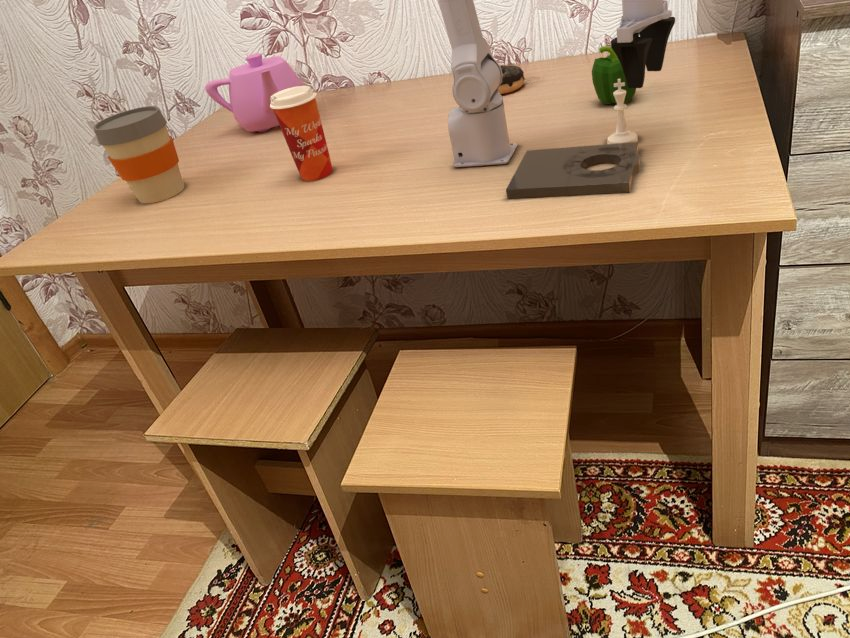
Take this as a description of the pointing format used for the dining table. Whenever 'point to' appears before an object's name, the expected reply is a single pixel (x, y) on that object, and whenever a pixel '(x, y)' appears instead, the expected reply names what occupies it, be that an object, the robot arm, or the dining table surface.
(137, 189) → the reusable coffee cup
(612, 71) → the bell pepper
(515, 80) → the donut
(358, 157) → the dining table surface
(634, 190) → the dining table surface
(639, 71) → the robot arm
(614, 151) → the dark grey flat block
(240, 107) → the teapot
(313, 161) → the coffee cup
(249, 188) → the dining table surface
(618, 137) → the chess piece
